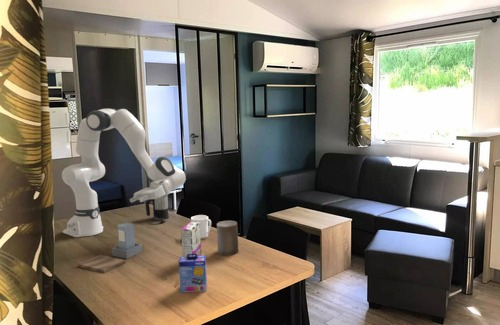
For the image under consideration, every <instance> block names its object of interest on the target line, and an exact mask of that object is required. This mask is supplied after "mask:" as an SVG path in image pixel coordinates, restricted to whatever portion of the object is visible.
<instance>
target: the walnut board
mask: <svg viewBox="0 0 500 325" xmlns="http://www.w3.org/2000/svg"><path fill="white" fill-rule="evenodd" d="M126 263H127V262H126V260H125V259H123V258H122V259H120V258H118V257H117V258H116V257H112V256H107V255H103V254H98V255H97V256H94V257H91V258H88V259H87V260H85V261H82V262H79V263H78V268H83V269H88V270H91V271H95V272H99V273H102V274H105V273H107V272H109V271H111V270H114V269H115V268H116V269H117V268H118V267H120V266H123V265H124V264H126Z"/></svg>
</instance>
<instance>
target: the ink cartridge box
mask: <svg viewBox="0 0 500 325" xmlns="http://www.w3.org/2000/svg"><path fill="white" fill-rule="evenodd" d="M190 255H195V256H190ZM206 258H207V257H206V255H202V254H201V256H197V253H196V254H187V256H183V255H182V256H180V257H179V260H178V272H179V292H180V293H194V292H195V293H197V292H198V293H199V292H207V290H208V279H207V276H208V275H207V259H206Z"/></svg>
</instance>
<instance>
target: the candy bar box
mask: <svg viewBox="0 0 500 325" xmlns="http://www.w3.org/2000/svg"><path fill="white" fill-rule="evenodd" d="M180 233H181V234H180V235H181V247H182V248H181V249H182V250H181V251H182V257H183V256H187V254H196V253H197V256H202V244H201V243H202V242H201V241H202V240H201V239H200V224H199V222H191V221H190V222H188V223H187V224H186V225H185V226H183V227H182V228H181V229H180ZM190 256H195V255H190Z"/></svg>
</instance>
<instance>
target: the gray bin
mask: <svg viewBox="0 0 500 325" xmlns="http://www.w3.org/2000/svg"><path fill="white" fill-rule="evenodd" d="M142 252H144V250H143V244H142V243H137V242H135V247H134V248H131V249H129V250H122V249H119V244H117V245H116V246H114V247H111V257H112V256H114V257H117V258H122V259H127V260H128V259H130V258H131V257H134V256H136V255H138V254H140V253H142Z"/></svg>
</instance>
